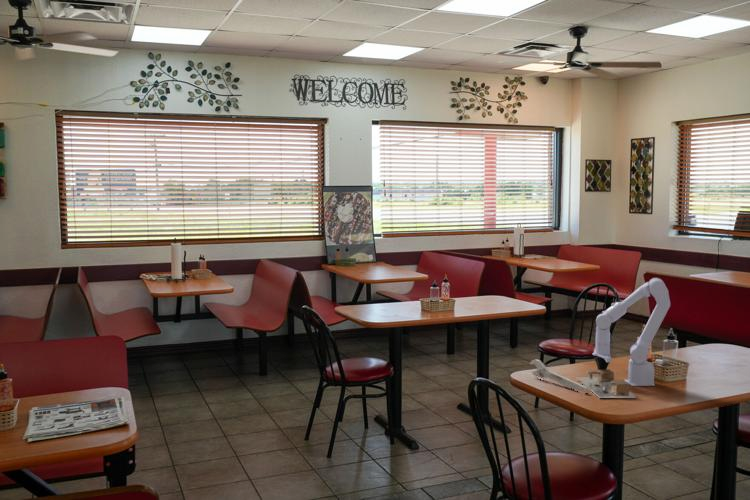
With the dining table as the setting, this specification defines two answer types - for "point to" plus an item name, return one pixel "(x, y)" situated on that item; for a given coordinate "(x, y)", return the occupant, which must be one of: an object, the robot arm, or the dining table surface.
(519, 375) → the dining table surface
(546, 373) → the wrench
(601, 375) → the slider
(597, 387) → the gauge plate
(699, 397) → the dining table surface
